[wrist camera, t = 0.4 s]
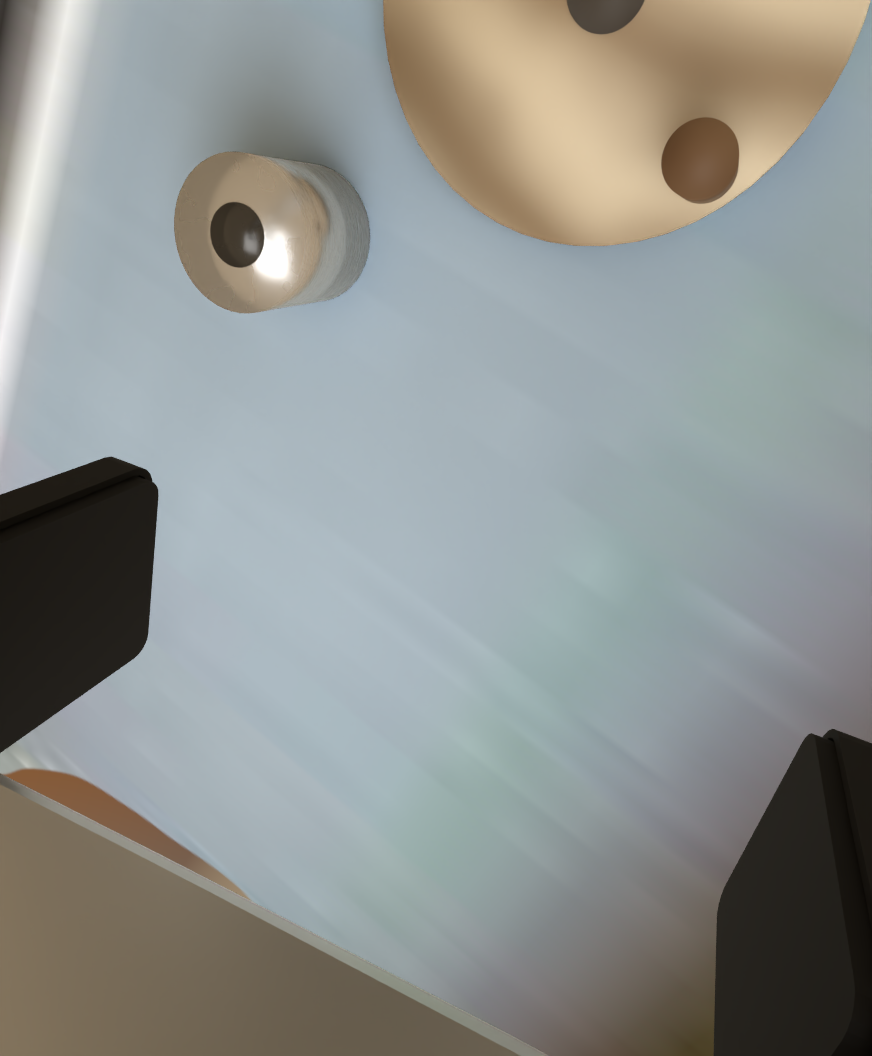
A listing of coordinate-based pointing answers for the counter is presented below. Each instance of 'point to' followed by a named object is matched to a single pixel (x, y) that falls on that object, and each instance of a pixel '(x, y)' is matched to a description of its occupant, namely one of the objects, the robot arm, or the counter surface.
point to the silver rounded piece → (269, 232)
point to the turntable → (612, 103)
